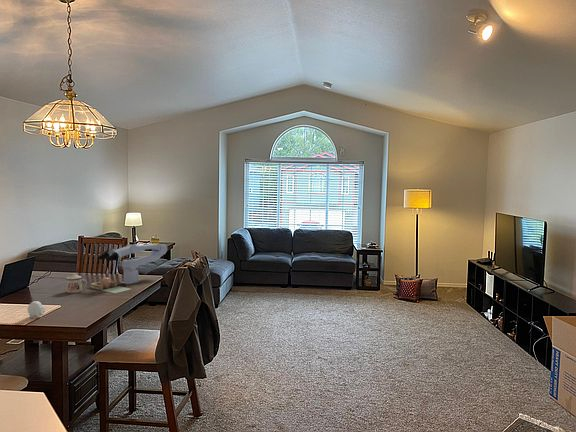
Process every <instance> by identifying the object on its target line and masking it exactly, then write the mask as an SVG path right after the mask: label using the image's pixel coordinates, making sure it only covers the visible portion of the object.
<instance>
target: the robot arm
mask: <svg viewBox="0 0 576 432" xmlns="http://www.w3.org/2000/svg"><path fill="white" fill-rule="evenodd" d="M145 250H151V254H148V255H145V256H141V257H137V258H135V259H123V260H122V261H121V263H120V265H121V268H122V270H123V281H121V284H125V285H131V284H136V283H139V282H140V280H139V278H140V275H139V270H138V269H137V268H139V266H142V265H146V264H149V263H152V262H156V261H158V260H159V259H160V258H161V257H162V256H164V255H166V253H167V252H168V246H167V244H160V243H149V244H144V243H142V242H139V243H137V244H136V243H133V244H126V246H123V247H120V248H117V249H114V248H112V250H110V251H108V250H105V251H104V252H103V253H102V254H100V255H99V256H98V260H100V261H101V260H105V261H106V262H112V261H113V262H114V261H116V262H117V261H119V259H121V258H123V257H126V256H128V255H130V254H138V253H141V252H145Z"/></svg>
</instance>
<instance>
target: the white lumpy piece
mask: <svg viewBox="0 0 576 432" xmlns="http://www.w3.org/2000/svg"><path fill="white" fill-rule="evenodd" d="M45 312H46V307H45V306H44V305H43V304H42V303H41V302H40V301H39V300H35V301H32V302H30V303H29V304H28V307H27V313H28V315H29V319H33V318H34V317H36V318H38V319H39V318H40V319H41V318H42V317H43V316H42V315H43V313H44V314H45Z"/></svg>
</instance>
